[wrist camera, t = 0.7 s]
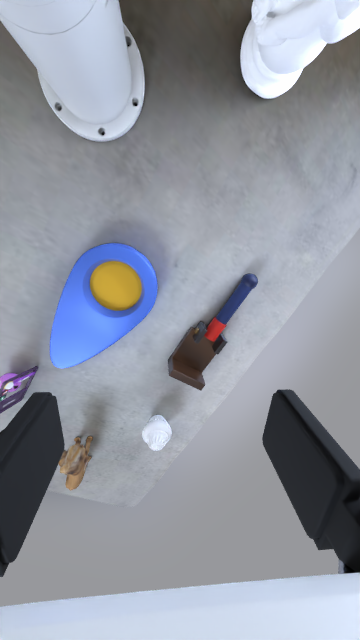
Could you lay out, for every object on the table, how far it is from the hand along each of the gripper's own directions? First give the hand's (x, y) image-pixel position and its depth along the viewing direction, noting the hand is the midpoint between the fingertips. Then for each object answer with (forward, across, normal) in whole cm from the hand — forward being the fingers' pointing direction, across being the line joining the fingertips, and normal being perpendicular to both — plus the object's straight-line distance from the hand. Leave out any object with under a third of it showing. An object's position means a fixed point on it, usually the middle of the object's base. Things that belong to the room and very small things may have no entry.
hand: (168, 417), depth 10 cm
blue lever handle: (+31, -12, +4) cm, 33 cm away
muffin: (+32, 0, +31) cm, 45 cm away
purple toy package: (+31, +27, +20) cm, 46 cm away
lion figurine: (+32, +18, +39) cm, 53 cm away
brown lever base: (+31, -7, +13) cm, 34 cm away
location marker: (+31, +11, +6) cm, 33 cm away
